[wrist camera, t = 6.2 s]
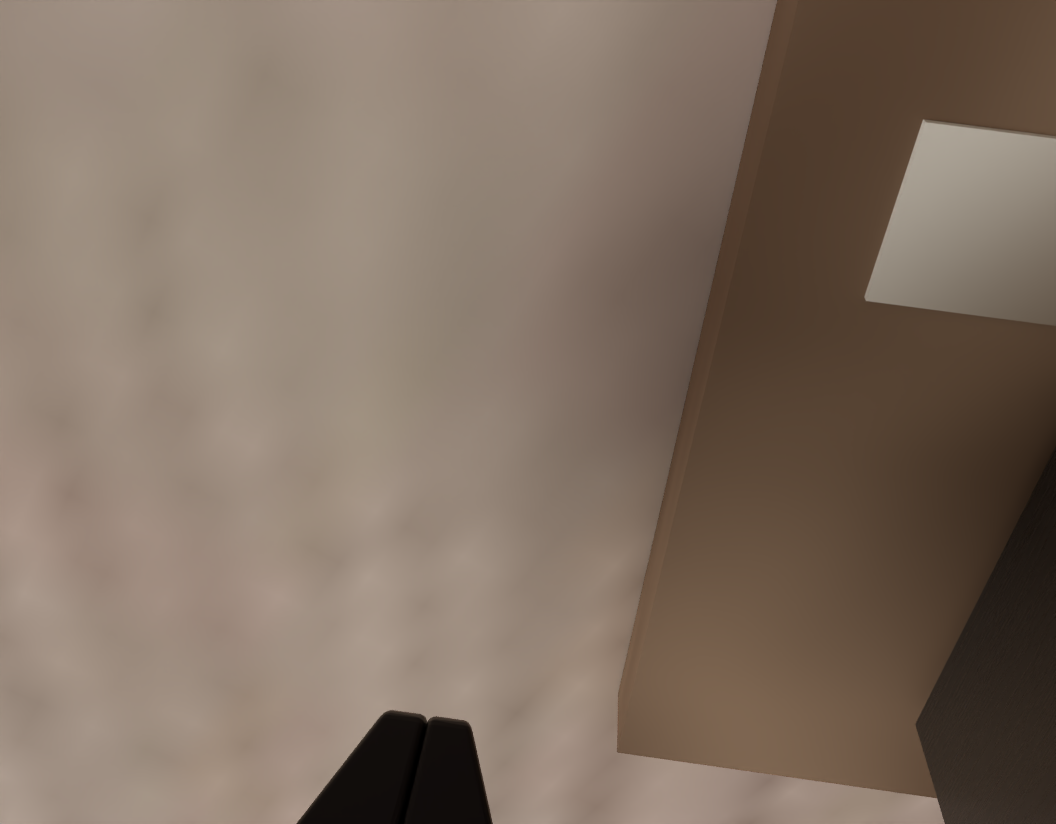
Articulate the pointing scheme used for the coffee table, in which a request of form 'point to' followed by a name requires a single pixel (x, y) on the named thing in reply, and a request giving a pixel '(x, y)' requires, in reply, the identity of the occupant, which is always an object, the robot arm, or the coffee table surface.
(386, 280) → the coffee table surface
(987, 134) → the gauge stand
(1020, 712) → the gauge carriage
